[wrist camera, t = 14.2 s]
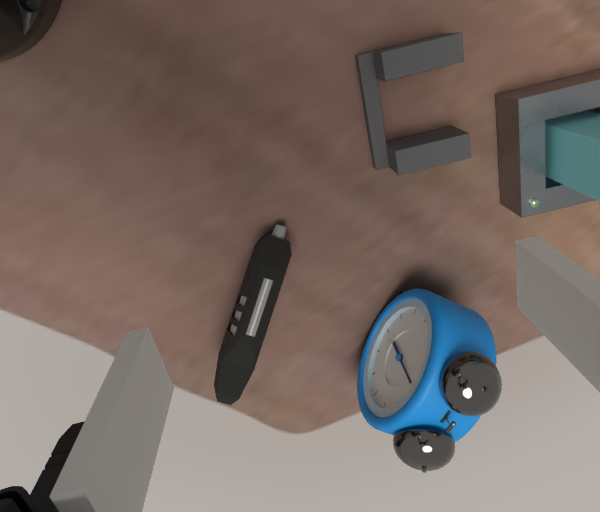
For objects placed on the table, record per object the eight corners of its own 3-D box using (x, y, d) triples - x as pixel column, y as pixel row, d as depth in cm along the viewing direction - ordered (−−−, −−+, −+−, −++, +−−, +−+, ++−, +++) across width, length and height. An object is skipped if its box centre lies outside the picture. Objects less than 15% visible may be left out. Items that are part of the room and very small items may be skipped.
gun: (279, 237, 50) (302, 229, 40) (230, 385, 48) (242, 414, 39) (254, 228, 49) (271, 217, 40) (204, 378, 48) (209, 405, 38)
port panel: (495, 94, 40) (519, 99, 36) (611, 66, 40) (648, 68, 36) (500, 203, 44) (522, 218, 40) (605, 178, 44) (638, 191, 40)
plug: (531, 120, 41) (616, 144, 31) (581, 109, 41) (682, 130, 31) (530, 169, 43) (611, 206, 33) (578, 159, 42) (674, 193, 33)
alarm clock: (409, 263, 46) (470, 354, 32) (460, 285, 48) (539, 382, 34) (345, 363, 51) (376, 481, 37) (394, 381, 52) (441, 501, 38)
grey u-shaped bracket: (355, 55, 38) (365, 56, 34) (442, 33, 38) (462, 32, 34) (373, 167, 42) (384, 178, 38) (452, 147, 42) (471, 157, 38)
